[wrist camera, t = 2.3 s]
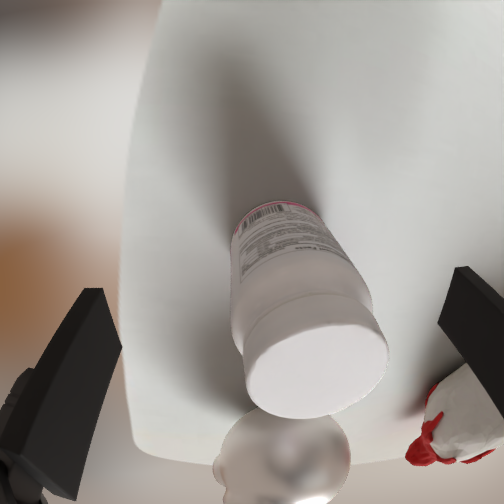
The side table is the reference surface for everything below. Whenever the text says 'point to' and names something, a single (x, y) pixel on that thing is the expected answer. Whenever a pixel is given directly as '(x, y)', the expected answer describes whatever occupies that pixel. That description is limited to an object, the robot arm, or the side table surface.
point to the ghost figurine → (282, 460)
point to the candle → (457, 422)
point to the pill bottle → (301, 315)
